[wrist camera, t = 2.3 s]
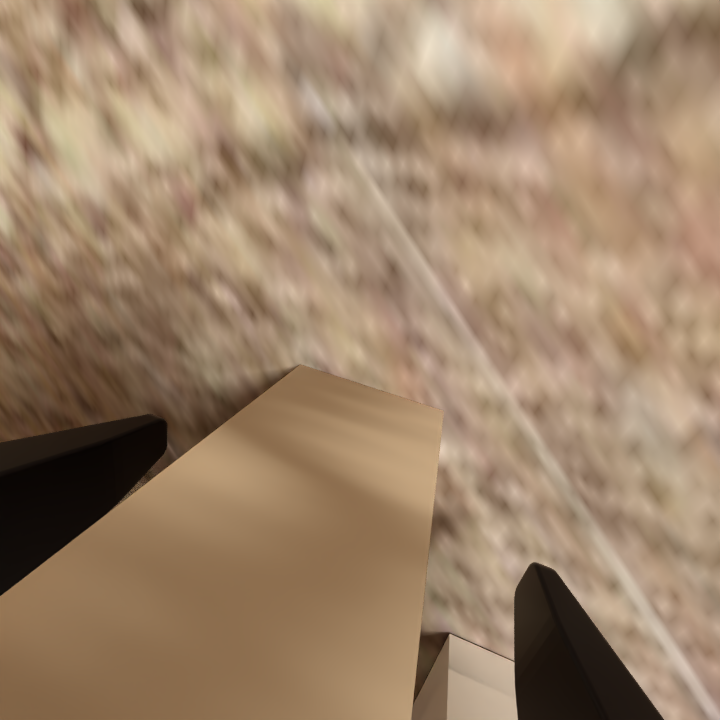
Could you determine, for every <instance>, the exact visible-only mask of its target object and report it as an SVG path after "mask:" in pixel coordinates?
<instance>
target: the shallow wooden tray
mask: <svg viewBox="0 0 720 720" xmlns="http://www.w3.org/2000/svg"><path fill="white" fill-rule="evenodd" d="M411 720H518V715H517V705H516V693H515V672H514V662H513V661H511V660H508V659H506V658H504V657H502V656H499V655H497V654H495V653H492V652H490V651H488V650H486V649H483V648H481V647H479V646H477V645H474V644H472V643H470V642H467V641H465V640H463V639H461V638H458V637H456V636H454V635H452V634H449V636H448V638H447V640H446V642H445V644H444V646H443V647H442V649H441V651H440V653H439V655H438V657H437V659H436V661H435V663H434V665H433V667H432V669H431V671H430V673H429V675H428V677H427V679H426V681H425V683H424V685H423V687H422V689H421V691H420V692H419V694H418V696H417V698H416V700H415V702H414V704H413V707H412V716H411Z"/></svg>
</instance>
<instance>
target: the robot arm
mask: <svg viewBox="0 0 720 720" xmlns="http://www.w3.org/2000/svg"><path fill="white" fill-rule="evenodd" d="M166 448H167V422H166V420H165V419H163V418H161V417H158V416H156V415H153V414H147V415H142V416H137V417H131V418H126V419H121V420H116V421H111V422H105V423H100V424H95V425H90V426H85V427H79V428H74V429H69V430H64V431H59V432H53V433H48V434H43V435H38V436H33V437H27V438H22V439H17V440H12V441H7V442H1V443H0V596H1V595H3V594H4V593H5V592H7V591H8V590H9V589H10V588H12V587H13V586H14V585H16V584H17V583H18V582H19V581H21V580H22V579H23V578H25V577H26V576H27V575H29V574H30V573H31V572H32V571H34V570H35V569H36V568H38V567H39V566H40V565H41V564H43V563H44V562H45V561H47V560H48V559H49V558H51V557H52V556H53V555H54V554H56V553H57V552H58V551H60V550H61V549H62V548H63V547H65V546H66V545H67V544H69V543H70V542H71V541H73V540H74V539H75V538H76V537H78V536H79V535H80V534H82V533H83V532H84V531H85V530H87V529H88V528H89V527H91V526H92V525H93V524H95V523H96V522H97V521H98V520H100V519H101V518H102V517H104V516H105V515H106V514H107V513H108V512H109V511H110V510H111V509H113V508H114V507H115V506H116V505H117V504H118V503H119V502H120V501H121V500H122V499H123V497H124V496H125V495H126V494H127V493H128V492H129V491H130V490H131V489H132V488H133V487H134V486H135V485H136V483H137V482H138V481H139V480H140V479H141V478H142V477H143V476H144V475H145V474H146V473H147V472H148V470H149V469H150V468H151V467H152V466H153V465H154V464H155V463H156V462H157V461H158V460H159V459H160V457H161V456H162V455H163V454H164V452H165V450H166ZM514 672H515V693H516V705H517V715H518V720H664V719H663V717H662V716H661V715H660V713H659V712H658V711H657V709H656V708H655V706H654V705H653V704H652V702H651V701H650V700H649V698H648V697H647V696H646V694H645V693H644V691H643V690H642V689H641V687H640V686H639V685H638V683H637V682H636V680H635V679H634V678H633V676H632V675H631V674H630V672H629V671H628V669H627V668H626V667H625V665H624V664H623V663H622V661H621V660H620V659H619V657H618V656H617V654H616V653H615V652H614V650H613V649H612V648H611V646H610V645H609V643H608V642H607V641H606V639H605V638H604V637H603V635H602V634H601V633H600V631H599V630H598V628H597V627H596V626H595V624H594V623H593V622H592V620H591V619H590V617H589V616H588V615H587V613H586V612H585V611H584V609H583V608H582V607H581V605H580V604H579V602H578V601H577V600H576V598H575V597H574V596H573V594H572V593H571V591H570V590H569V589H568V587H567V586H566V585H565V583H564V582H563V580H562V579H561V578H560V576H559V575H558V574H557V573H556V571H555V570H553V569H552V568H549V567H547V566H544V565H542V564H539V563H536V562H533V563H531V564H530V565H529V567H528V568H527V570H526V572H525V574H524V575H523V577H522V579H521V580H520V582H519V584H518V586H517V588H516V591H515V597H514Z"/></svg>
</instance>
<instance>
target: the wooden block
mask: <svg viewBox="0 0 720 720" xmlns="http://www.w3.org/2000/svg"><path fill="white" fill-rule="evenodd" d="M443 413H444V411H442V410H439V409H436V408H433V407H430V406H427V405H424V404H421V403H418V402H414V401H411V400H408V399H405V398H402V397H399V396H396V395H393V394H390V393H387V392H384V391H381V390H378V389H374V388H371V387H368V386H365V385H362V384H359V383H356V382H353V381H350V380H347V379H344V378H341V377H337V376H334V375H331V374H328V373H325V372H322V371H319V370H316V369H313V368H310V367H307V366H304V365H299V366H298V367H296V368H295V369H294V370H293V371H291V372H290V373H289V374H287V375H286V376H285V377H283V378H282V379H281V380H280V381H278V382H277V383H276V384H274V385H273V386H272V387H271V388H269V389H268V390H267V391H265V392H264V393H263V394H261V395H260V396H259V397H258V398H256V399H255V400H254V401H252V402H251V403H250V404H249V405H247V406H246V407H245V408H243V409H242V410H241V411H239V412H238V413H237V414H236V415H234V416H233V417H232V418H230V419H229V420H228V421H227V422H225V423H224V424H223V425H221V426H220V427H219V428H217V429H216V430H215V431H214V432H212V433H211V434H210V435H208V436H207V437H206V438H205V439H203V440H202V441H201V442H199V443H198V444H197V445H195V446H194V447H193V448H192V449H190V450H189V451H188V452H186V453H185V454H184V455H183V456H181V457H180V458H179V459H177V460H176V461H175V462H173V463H172V464H171V465H170V466H168V467H167V468H166V469H164V470H163V471H162V472H161V473H159V474H158V475H157V476H155V477H154V478H153V479H151V480H150V481H149V482H148V483H146V484H145V485H144V486H142V487H141V488H140V489H139V490H137V491H136V492H135V493H133V494H132V495H131V496H129V497H128V498H127V499H126V500H124V501H123V502H122V503H120V504H119V505H118V506H117V507H115V508H114V509H113V510H111V511H110V512H109V513H107V514H106V515H105V516H104V517H102V518H101V519H100V520H98V521H97V522H96V523H95V524H93V525H92V526H91V527H89V528H88V529H87V530H85V531H84V532H83V533H82V534H80V535H79V536H78V537H76V538H75V539H74V540H73V541H71V542H70V543H69V544H67V545H66V546H65V547H63V548H62V549H61V550H60V551H58V552H57V553H56V554H54V555H53V556H52V557H51V558H49V559H48V560H47V561H45V562H44V563H43V564H41V565H40V566H39V567H38V568H36V569H35V570H34V571H32V572H31V573H30V574H29V575H27V576H26V577H25V578H23V579H22V580H21V581H19V582H18V583H17V584H16V585H14V586H13V587H12V588H10V589H9V590H8V591H7V592H5V593H4V594H3V595H1V596H0V720H411V716H412V707H413V697H414V688H415V678H416V669H417V659H418V650H419V641H420V631H421V622H422V612H423V603H424V593H425V584H426V574H427V565H428V555H429V546H430V536H431V527H432V517H433V508H434V498H435V489H436V479H437V470H438V460H439V451H440V441H441V432H442V422H443Z"/></svg>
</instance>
